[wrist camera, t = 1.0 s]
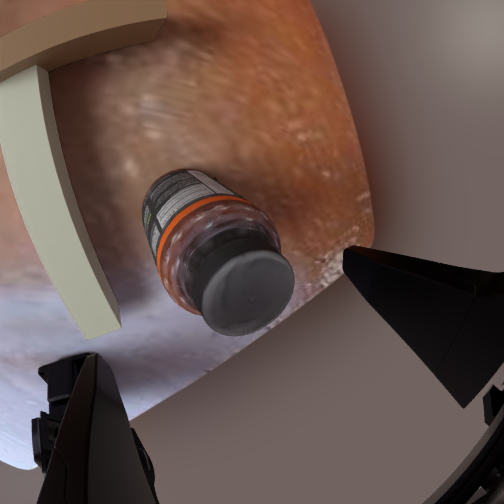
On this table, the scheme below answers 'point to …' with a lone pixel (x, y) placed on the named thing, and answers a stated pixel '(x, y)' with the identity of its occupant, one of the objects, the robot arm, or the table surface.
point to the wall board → (49, 148)
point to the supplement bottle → (216, 252)
